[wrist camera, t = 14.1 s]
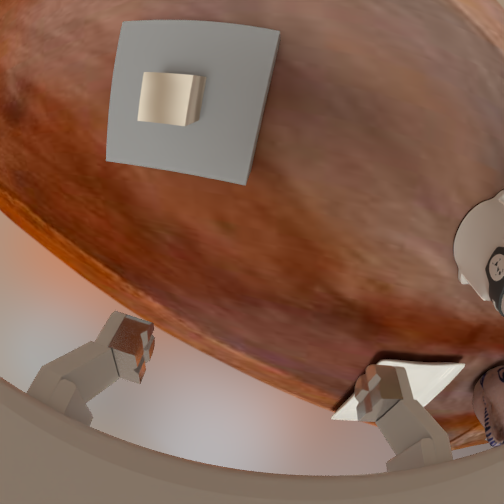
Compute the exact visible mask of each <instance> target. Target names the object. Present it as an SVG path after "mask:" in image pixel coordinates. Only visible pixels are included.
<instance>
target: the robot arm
mask: <svg viewBox="0 0 504 504" xmlns="http://www.w3.org/2000/svg"><path fill="white" fill-rule="evenodd" d="M454 258H455V261H456V263H457V266H458V269H459V270H458V279H459V281H460V282H461V283H462V284H470V285H471V286H472V287H473V289H474V290H475V291H476V292H477V294H478V295H479V296H480V297H481V299H483V300H484V301H485V300H488V301H490V300H491V301H492V303H493V305H494V307H495V308H496V310H497V311H498V312H499V313H500V314H501V315H502V316H503V317H504V190H502V191H500V192H499V193H498V194H497V195H496V196H495V197H494V198H492V199H490V200H487V201H484V202H482V203H480V204H478V205H477V206H476V207H474V208H473V209H472V210H471V211H470V212H469V213H468V214H467V216H466V217H465V218H464V220H463V221H462V223H461V225H460V227H459V229H458V231H457V234H456V237H455V241H454ZM153 330H154V324H153V323H151V322H148V321H145V320H142V319H139V318H136V317H133V316H130V315H127V314H124V313H121V312H118V311H114V312H113V313H112V314H111V315H110V317H109V319H108V320H107V322H106V324H105V325H104V327H103V329H102V330H101V332H100V334H99V335H98V337H97V339H96V340H95V342H92V341H90V342H88V343H86V344H84V345H82V346H81V347H79V348H77V349H75V350H73V351H71V352H69V353H67V354H65V355H64V356H61V357H59V358H57V359H55V360H54V361H51V362H50V363H48V364H46V365H44V366H42V367H41V369H40V371H39V372H38V374H37V376H36V377H35V379H34V381H33V382H32V384H31V386H30V388H29V389H28V391H27V393H25V392H23V391H21V390H19V389H18V388H17V387H15V386H14V385H12V384H10V383H9V382H7V381H6V380H4V379H3V378H2V377H0V504H504V445H500V446H497V447H495V448H492V449H489V450H486V451H483V452H480V453H476V454H473V455H470V456H466V457H463V458H459V459H455V460H453V457H452V452H451V447H450V443H449V438H448V434H447V433H446V432H445V431H444V430H443V429H442V428H441V426H440V425H439V424H438V423H437V422H436V421H435V420H434V419H433V417H432V416H431V415H430V414H429V413H428V412H427V411H426V410H425V408H424V407H423V406H422V405H421V404H420V403H419V402H418V401H417V400H414V398H413V394H412V390H411V387H410V383H409V379H408V376H407V372H406V369H405V368H404V367H399V366H389V365H375V364H371V365H369V366H368V367H367V368H366V374H364V375H362V376H360V377H359V379H358V380H357V382H356V385H355V391H354V393H355V398H356V400H357V401H358V402H359V403H358V405H357V407H356V410H357V418H358V421H366V422H376V424H377V426H378V427H379V429H380V430H381V432H382V434H383V435H384V437H385V438H386V440H387V441H388V443H389V445H390V446H391V448H392V449H393V451H394V452H395V454H396V456H395V457H394V458H392V459H390V460H389V461H388V462H387V463H386V466H387V472H384V473H374V474H361V475H340V476H308V475H286V474H273V473H263V472H254V471H246V470H239V469H233V468H227V467H221V466H216V465H211V464H205V463H201V462H196V461H192V460H187V459H184V458H180V457H176V456H172V455H168V454H164V453H161V452H158V451H154V450H151V449H148V448H145V447H142V446H139V445H136V444H133V443H130V442H127V441H124V440H122V439H119V438H116V437H114V436H111V435H109V434H106V433H104V432H101V431H99V430H97V429H94V428H92V427H90V424H91V421H92V419H93V416H92V414H91V412H90V411H89V408H88V407H87V405H86V403H87V402H88V401H89V400H91V399H92V398H93V397H95V396H96V395H98V394H99V393H100V392H102V391H103V390H104V389H106V388H107V387H109V386H110V385H111V384H113V383H114V382H115V381H117V380H118V379H119V377H120V378H123V379H126V380H129V381H132V382H136V383H139V384H141V381H142V379H143V376H144V374H145V371H146V366H145V363H147V362H148V361H150V359H151V356H152V353H153V350H154V344H155V340H154V339H155V338H154V336H153V335H152V333H153Z"/></svg>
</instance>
